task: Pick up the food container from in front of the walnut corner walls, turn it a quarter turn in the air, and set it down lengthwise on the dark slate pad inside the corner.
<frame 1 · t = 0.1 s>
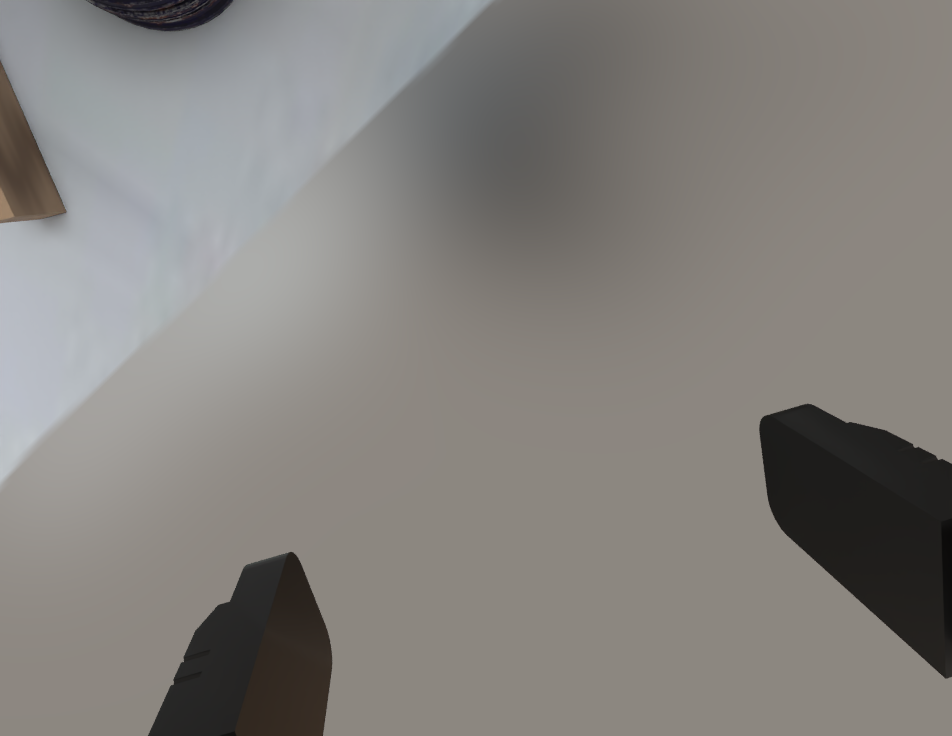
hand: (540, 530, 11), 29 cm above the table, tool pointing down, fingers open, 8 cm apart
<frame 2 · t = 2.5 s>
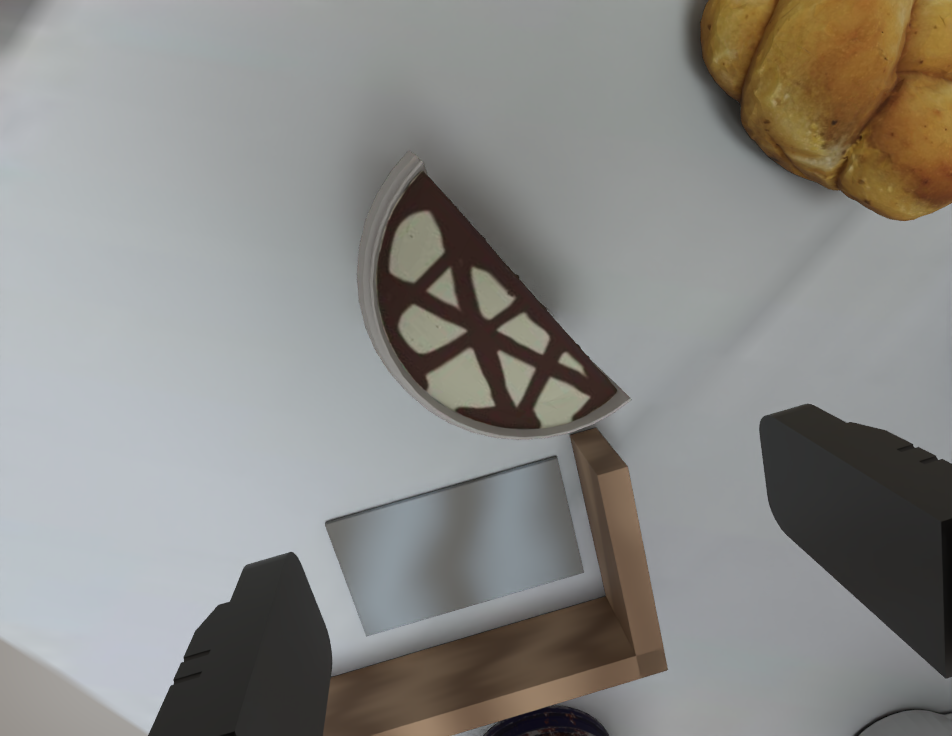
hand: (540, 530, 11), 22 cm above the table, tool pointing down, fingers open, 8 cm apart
food container: (447, 298, 32), on the table
bread roll: (801, 72, 31), on the table
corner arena: (447, 570, 36), on the table
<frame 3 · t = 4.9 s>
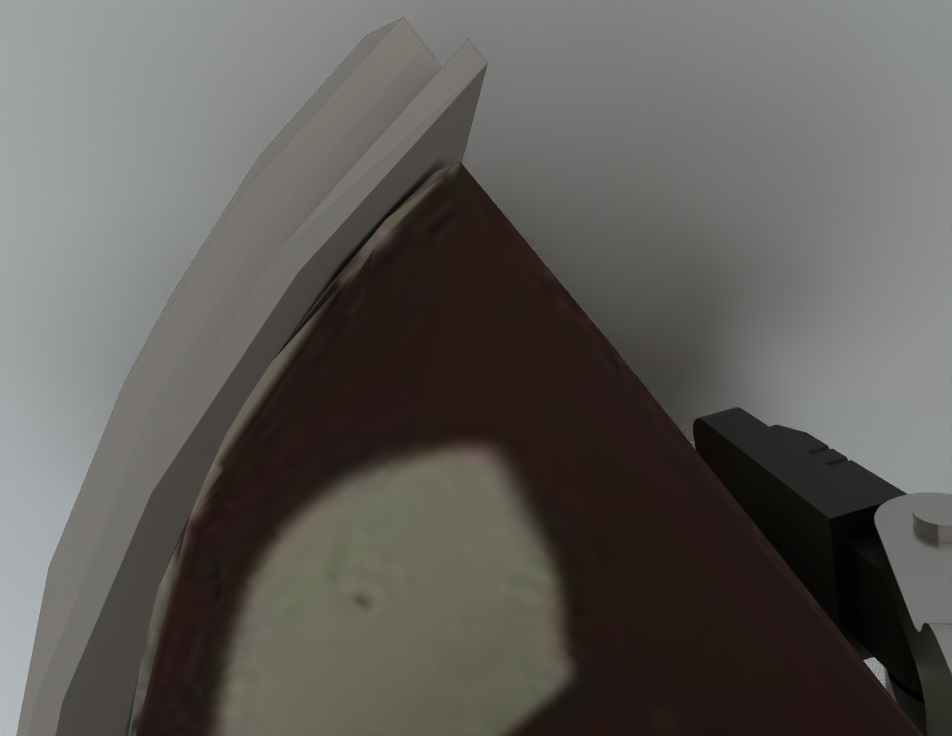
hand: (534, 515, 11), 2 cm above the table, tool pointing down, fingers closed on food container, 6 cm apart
food container: (474, 474, 13), on the table, touching gripper
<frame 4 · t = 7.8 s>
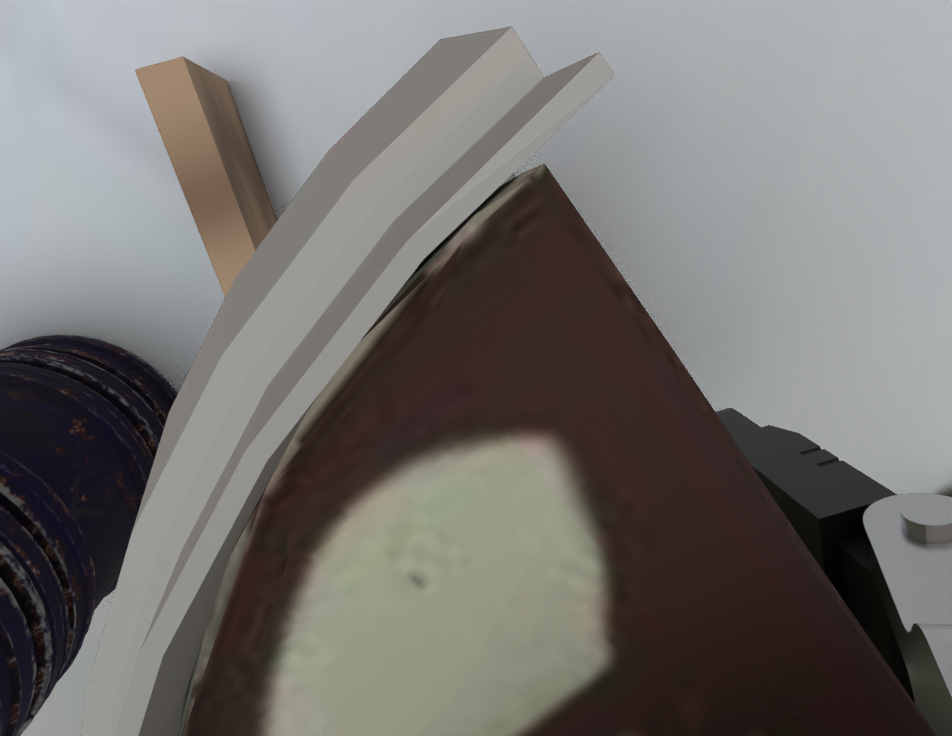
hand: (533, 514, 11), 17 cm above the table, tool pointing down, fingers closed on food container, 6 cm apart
food container: (475, 474, 14), point 15 cm above the table, touching gripper
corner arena: (422, 297, 27), on the table
rusty blue oil drum: (81, 441, 27), on the table
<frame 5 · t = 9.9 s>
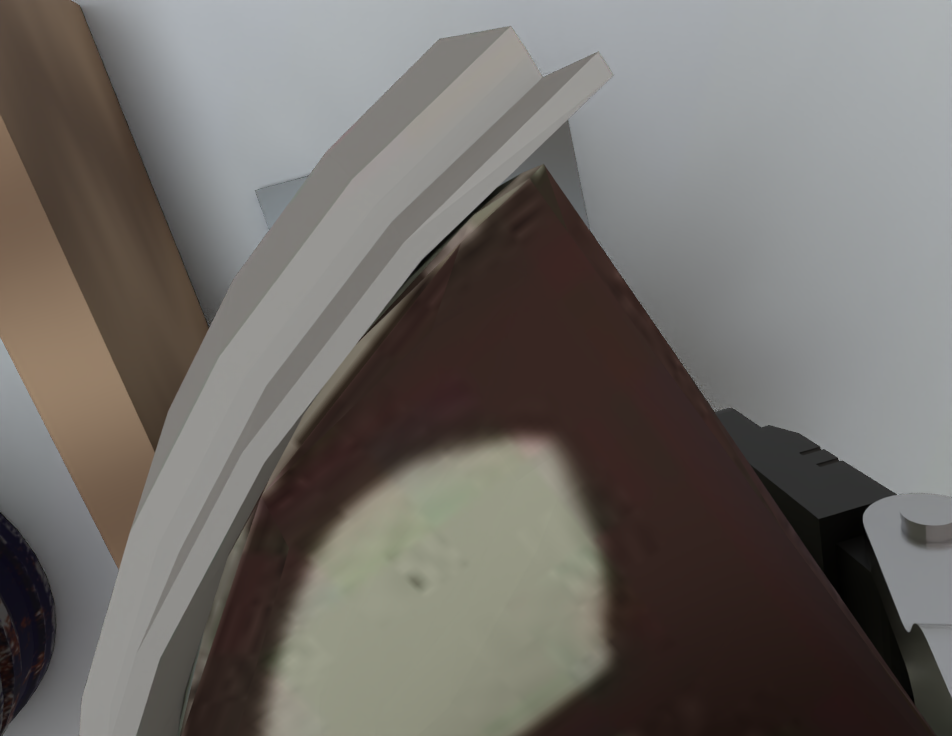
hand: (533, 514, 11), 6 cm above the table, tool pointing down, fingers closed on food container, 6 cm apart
food container: (475, 474, 14), point 4 cm above the table, touching gripper
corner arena: (424, 375, 17), on the table
when the fingers open (4 cm above the table, at t = 11.0 s): food container moves 1 cm, resting on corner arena.
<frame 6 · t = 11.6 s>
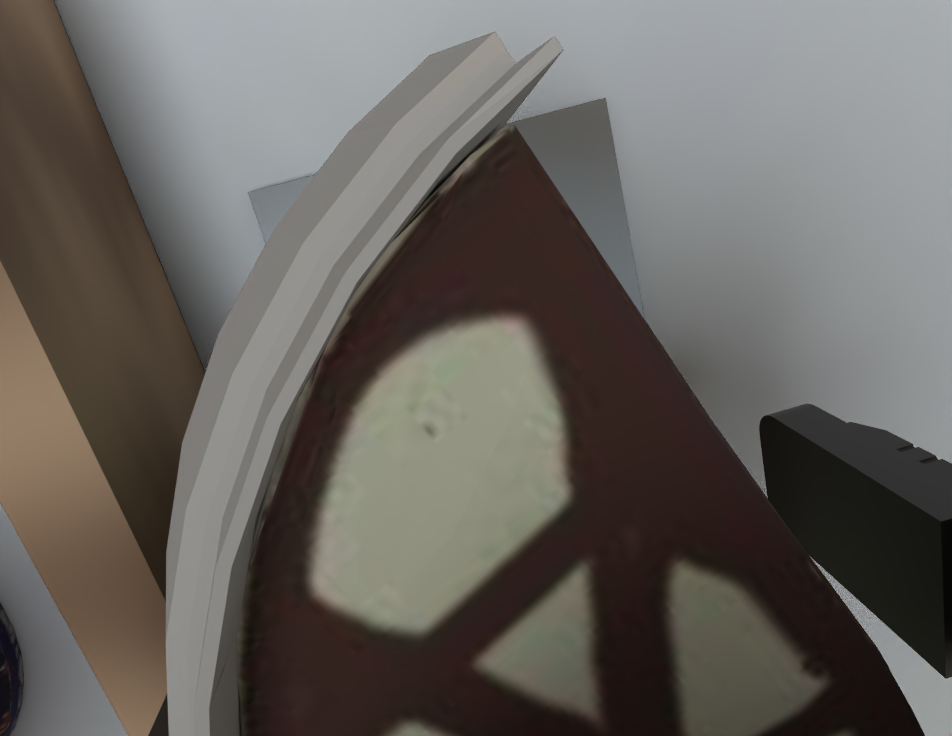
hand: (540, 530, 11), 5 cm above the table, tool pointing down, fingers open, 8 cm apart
food container: (430, 478, 15), point 1 cm above the table, touching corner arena, gripper
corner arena: (439, 402, 15), on the table
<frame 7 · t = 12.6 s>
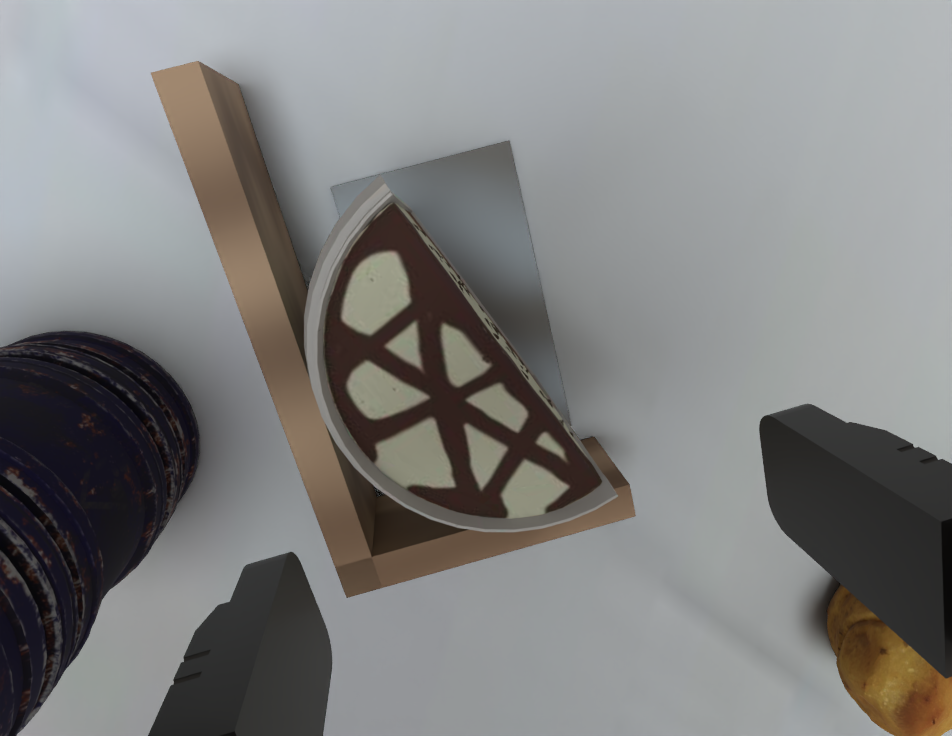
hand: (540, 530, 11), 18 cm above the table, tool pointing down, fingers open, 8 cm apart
food container: (419, 336, 28), resting on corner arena
bread roll: (905, 575, 35), on the table
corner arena: (426, 299, 28), on the table
rusty blue oil drum: (86, 436, 28), on the table
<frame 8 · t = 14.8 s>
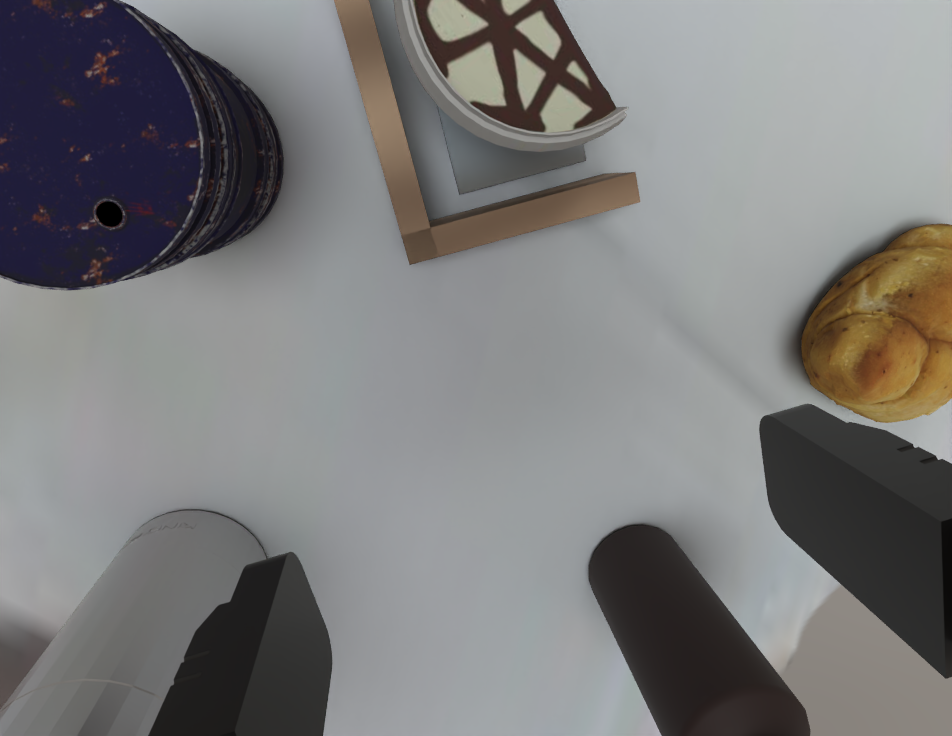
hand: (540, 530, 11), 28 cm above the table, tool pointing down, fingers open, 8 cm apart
food container: (463, 74, 34), resting on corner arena
bread roll: (867, 315, 42), on the table
vinegar: (632, 563, 45), on the table
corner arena: (468, 42, 34), on the table
rusty blue oil drum: (192, 156, 34), on the table
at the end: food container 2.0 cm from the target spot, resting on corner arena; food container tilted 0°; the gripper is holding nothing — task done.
